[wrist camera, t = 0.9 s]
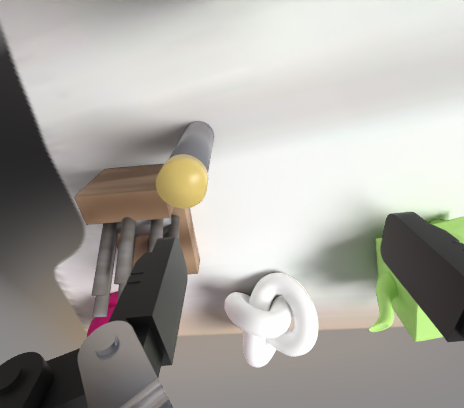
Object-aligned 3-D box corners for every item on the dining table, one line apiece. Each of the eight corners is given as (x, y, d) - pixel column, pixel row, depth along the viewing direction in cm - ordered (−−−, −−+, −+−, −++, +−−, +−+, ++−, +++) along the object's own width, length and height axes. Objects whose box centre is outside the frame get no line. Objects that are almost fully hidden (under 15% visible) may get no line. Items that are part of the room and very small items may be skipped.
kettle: (334, 266, 36) (373, 343, 26) (406, 183, 30) (493, 244, 20) (414, 295, 39) (475, 373, 30) (494, 226, 33) (606, 296, 23)
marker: (181, 121, 26) (150, 165, 15) (212, 118, 26) (202, 160, 15) (187, 152, 27) (162, 210, 17) (216, 149, 27) (209, 206, 17)
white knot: (283, 248, 34) (299, 303, 27) (320, 297, 39) (342, 356, 32) (215, 282, 37) (212, 341, 30) (257, 324, 42) (264, 384, 35)
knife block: (100, 169, 28) (32, 229, 18) (180, 162, 28) (154, 219, 18) (137, 269, 36) (102, 349, 26) (200, 264, 36) (190, 343, 26)
